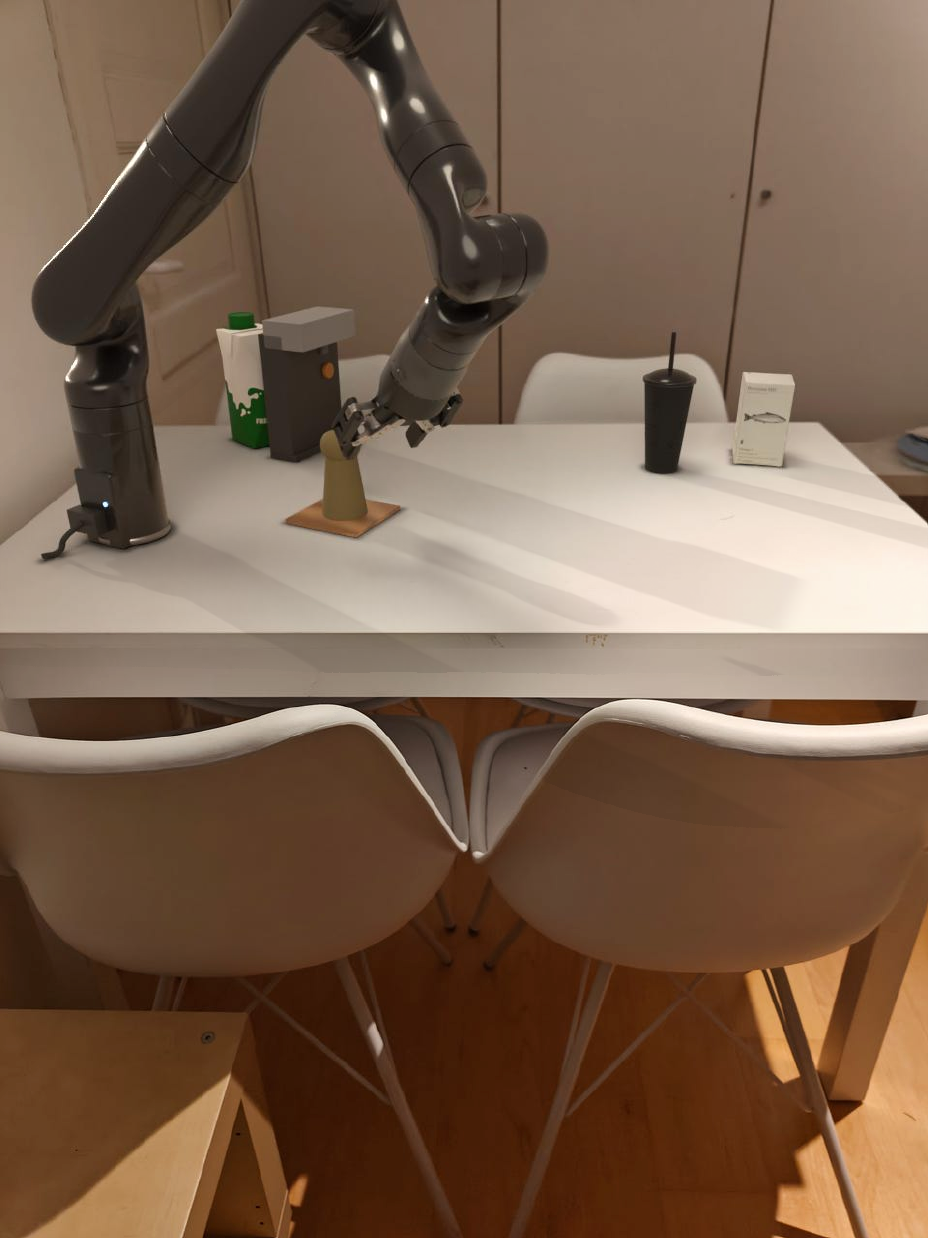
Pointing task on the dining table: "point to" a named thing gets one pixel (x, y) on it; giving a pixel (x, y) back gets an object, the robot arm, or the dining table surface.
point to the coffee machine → (302, 377)
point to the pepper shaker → (341, 483)
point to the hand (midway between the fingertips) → (378, 447)
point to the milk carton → (244, 379)
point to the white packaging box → (763, 418)
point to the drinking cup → (666, 414)
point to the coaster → (353, 528)
